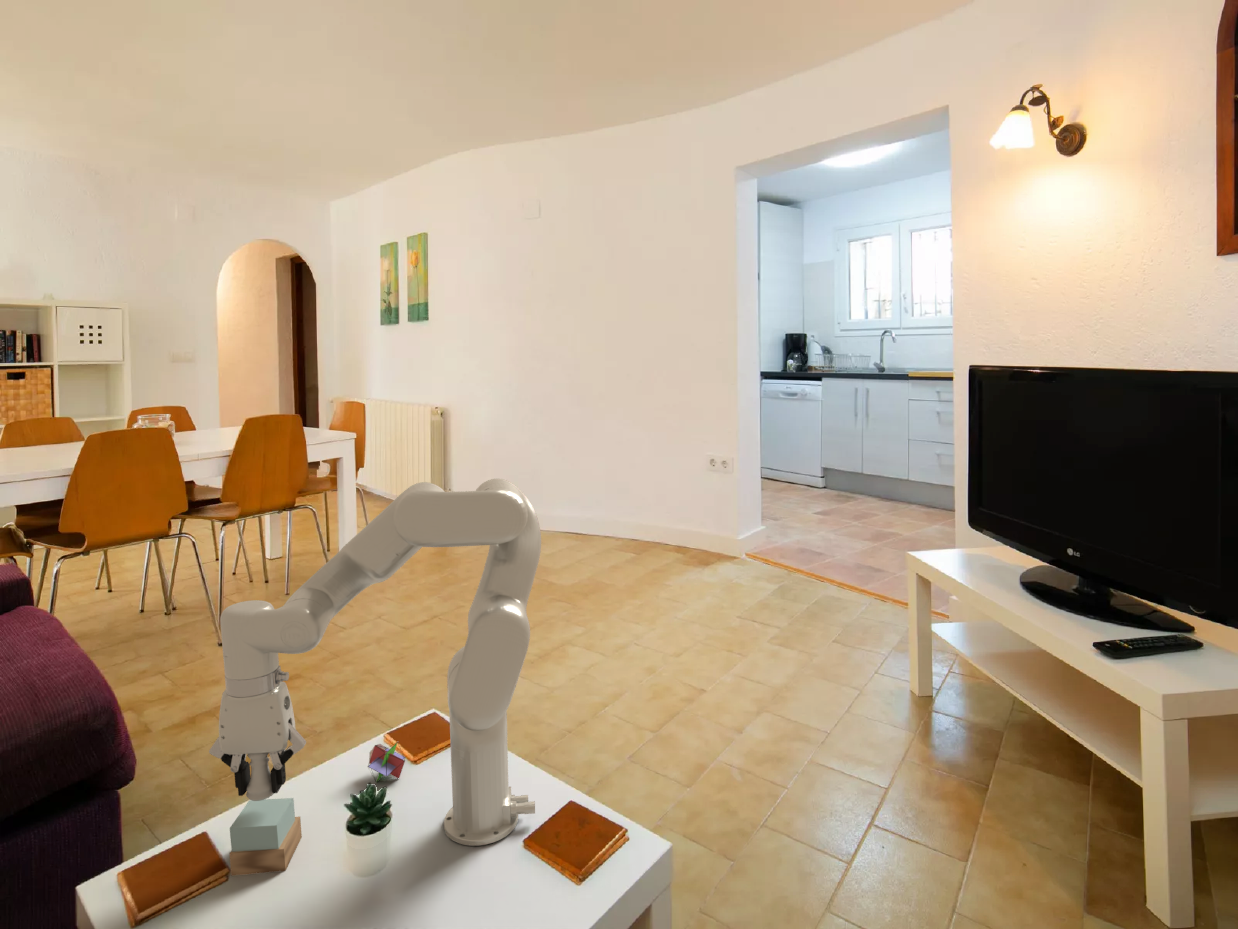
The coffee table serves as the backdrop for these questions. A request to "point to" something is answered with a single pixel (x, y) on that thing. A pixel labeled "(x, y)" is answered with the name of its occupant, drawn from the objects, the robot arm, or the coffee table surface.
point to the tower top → (262, 824)
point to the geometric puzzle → (386, 761)
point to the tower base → (267, 855)
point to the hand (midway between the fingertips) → (261, 788)
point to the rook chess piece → (259, 778)
